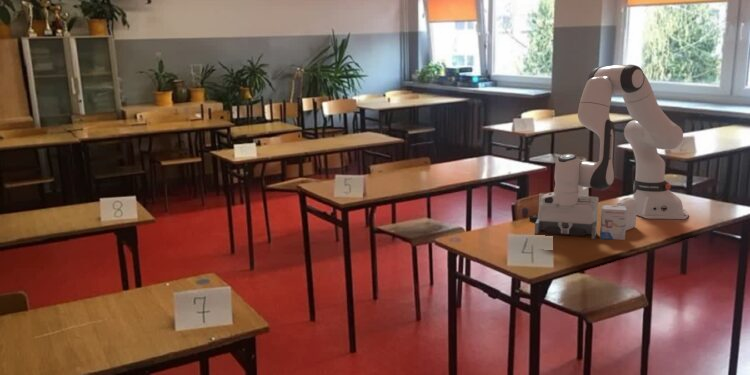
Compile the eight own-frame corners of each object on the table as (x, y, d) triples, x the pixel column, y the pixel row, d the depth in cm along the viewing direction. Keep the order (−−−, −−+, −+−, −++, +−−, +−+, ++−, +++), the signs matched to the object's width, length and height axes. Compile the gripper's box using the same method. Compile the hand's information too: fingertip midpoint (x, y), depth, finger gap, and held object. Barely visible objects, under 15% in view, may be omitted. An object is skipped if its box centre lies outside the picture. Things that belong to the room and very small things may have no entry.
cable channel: (596, 233, 243) (596, 222, 242) (594, 239, 236) (595, 227, 235) (537, 228, 252) (538, 217, 251) (534, 234, 245) (535, 223, 244)
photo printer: (623, 232, 243) (624, 201, 240) (612, 230, 246) (614, 199, 243) (637, 227, 249) (639, 196, 246) (627, 225, 252) (628, 194, 250)
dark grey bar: (586, 233, 242) (586, 227, 241) (585, 238, 240) (585, 231, 238) (546, 230, 248) (545, 224, 246) (544, 234, 246) (544, 228, 244)
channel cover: (596, 222, 242) (597, 221, 243) (598, 197, 242) (598, 197, 242) (538, 217, 251) (538, 217, 251) (539, 193, 250) (539, 193, 251)
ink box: (600, 239, 237) (602, 208, 234) (599, 235, 241) (601, 204, 239) (625, 240, 234) (627, 209, 232) (623, 236, 239) (625, 205, 236)
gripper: (596, 197, 236) (594, 233, 239) (539, 194, 244) (539, 228, 247) (594, 201, 230) (593, 238, 233) (537, 198, 238) (536, 233, 241)
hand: (565, 233), depth 240 cm, fingers closed
